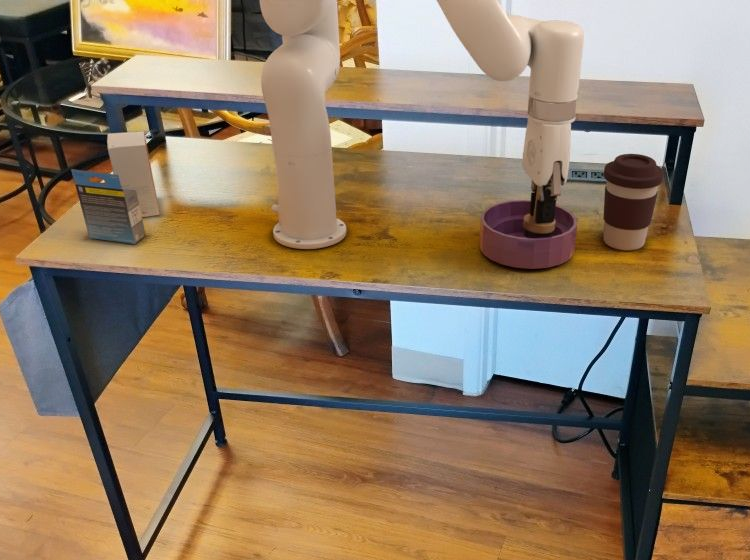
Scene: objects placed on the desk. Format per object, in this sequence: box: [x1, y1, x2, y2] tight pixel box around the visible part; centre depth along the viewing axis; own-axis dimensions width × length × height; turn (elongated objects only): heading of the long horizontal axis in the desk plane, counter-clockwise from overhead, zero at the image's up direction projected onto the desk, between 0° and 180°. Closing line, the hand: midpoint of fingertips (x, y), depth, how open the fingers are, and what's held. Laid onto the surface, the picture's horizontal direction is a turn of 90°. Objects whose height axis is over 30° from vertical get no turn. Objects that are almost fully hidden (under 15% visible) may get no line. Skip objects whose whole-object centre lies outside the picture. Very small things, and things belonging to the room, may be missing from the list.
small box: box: [106, 130, 160, 218], centre depth 149 cm, size 8×6×13 cm
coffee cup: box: [602, 153, 665, 252], centre depth 143 cm, size 10×10×15 cm
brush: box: [523, 180, 556, 238], centre depth 138 cm, size 5×5×11 cm
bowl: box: [478, 199, 578, 270], centre depth 142 cm, size 16×16×6 cm
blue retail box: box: [70, 168, 146, 245], centre depth 139 cm, size 9×4×12 cm, turn 77°
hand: (541, 217), depth 140 cm, fingers closed on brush
